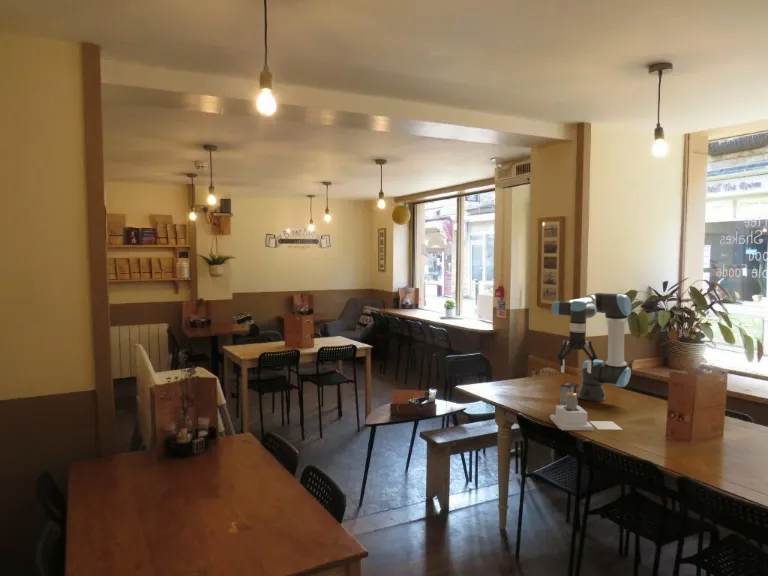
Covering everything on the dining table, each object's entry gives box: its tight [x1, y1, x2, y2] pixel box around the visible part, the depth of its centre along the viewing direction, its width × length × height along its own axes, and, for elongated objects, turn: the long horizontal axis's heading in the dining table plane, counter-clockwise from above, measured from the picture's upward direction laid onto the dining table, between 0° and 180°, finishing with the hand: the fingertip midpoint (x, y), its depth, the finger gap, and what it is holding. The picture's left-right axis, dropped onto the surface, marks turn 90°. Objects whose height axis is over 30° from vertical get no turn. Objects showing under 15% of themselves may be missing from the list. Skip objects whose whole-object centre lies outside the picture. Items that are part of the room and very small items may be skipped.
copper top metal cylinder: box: [566, 392, 577, 411], centre depth 269 cm, size 5×5×14 cm
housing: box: [549, 404, 594, 431], centre depth 270 cm, size 18×16×8 cm
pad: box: [588, 420, 623, 431], centre depth 268 cm, size 12×12×1 cm
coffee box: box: [559, 381, 579, 406], centre depth 287 cm, size 9×6×16 cm
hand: (575, 372), depth 268 cm, fingers open, 13 cm apart
